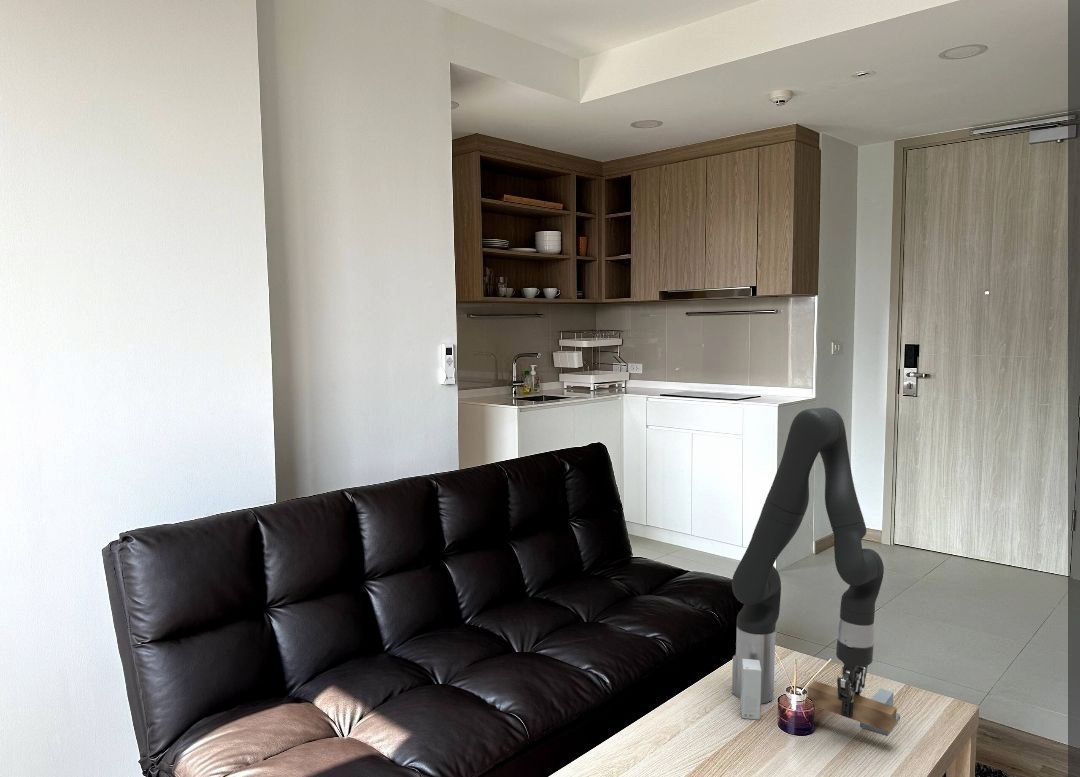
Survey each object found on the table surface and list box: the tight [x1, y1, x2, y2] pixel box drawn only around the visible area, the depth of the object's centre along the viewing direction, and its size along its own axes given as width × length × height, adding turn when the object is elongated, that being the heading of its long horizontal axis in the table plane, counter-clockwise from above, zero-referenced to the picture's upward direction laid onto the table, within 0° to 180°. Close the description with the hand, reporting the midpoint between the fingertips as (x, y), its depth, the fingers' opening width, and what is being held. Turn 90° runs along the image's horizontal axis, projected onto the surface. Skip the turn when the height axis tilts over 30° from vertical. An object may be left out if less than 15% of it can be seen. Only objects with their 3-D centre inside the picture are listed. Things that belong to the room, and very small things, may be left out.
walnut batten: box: [807, 680, 898, 733], centre depth 173 cm, size 18×4×4 cm, turn 50°
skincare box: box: [740, 659, 761, 721], centre depth 183 cm, size 6×4×12 cm
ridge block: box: [859, 688, 901, 736], centre depth 179 cm, size 6×10×6 cm, turn 141°
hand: (850, 712), depth 173 cm, fingers closed on walnut batten, 4 cm apart
